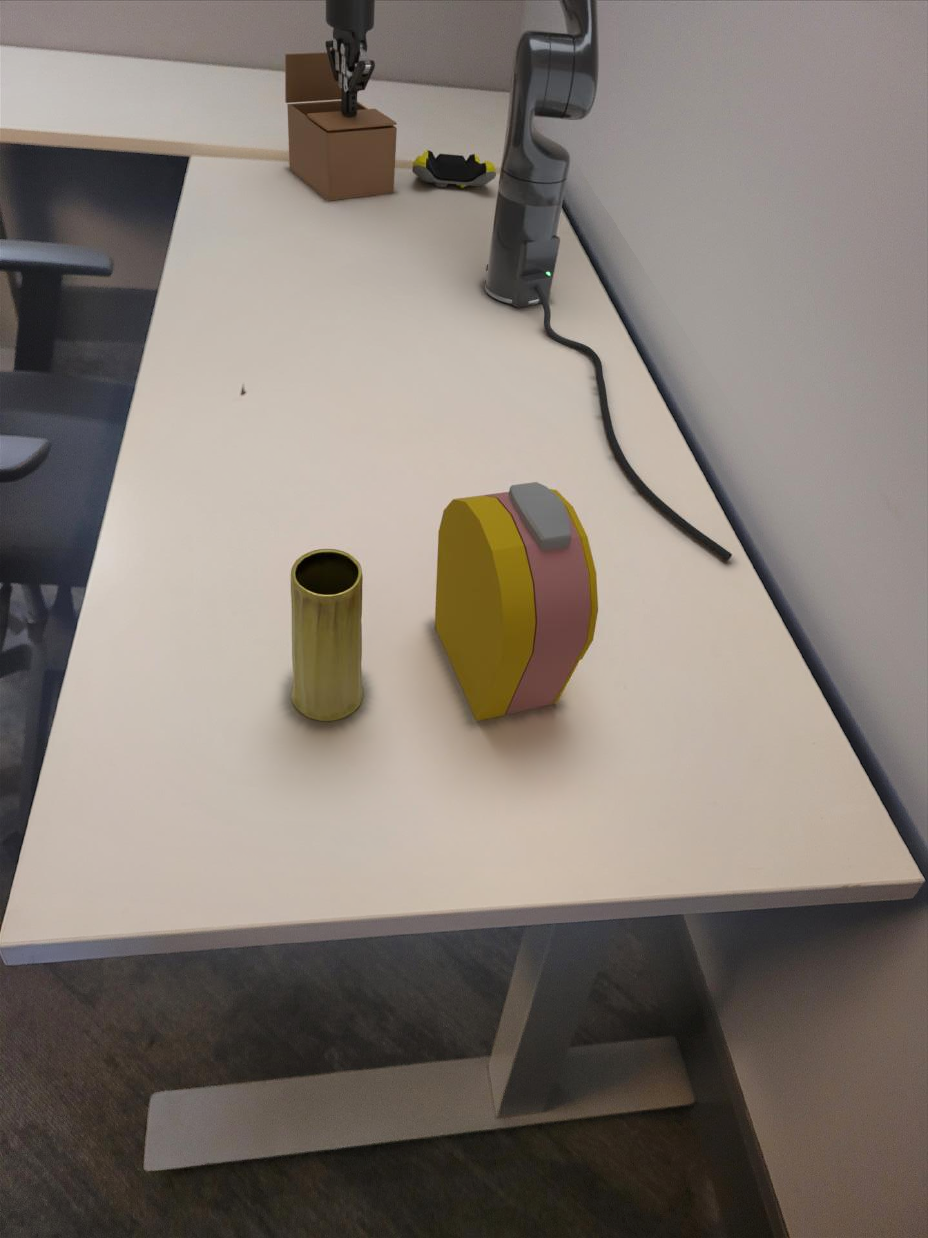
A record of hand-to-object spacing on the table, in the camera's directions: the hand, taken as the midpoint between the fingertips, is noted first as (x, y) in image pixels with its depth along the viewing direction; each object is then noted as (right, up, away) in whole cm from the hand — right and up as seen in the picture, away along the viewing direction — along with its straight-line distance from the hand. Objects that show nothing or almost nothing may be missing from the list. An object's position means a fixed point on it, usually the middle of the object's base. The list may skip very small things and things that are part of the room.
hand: (348, 115), depth 143 cm
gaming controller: (+17, -5, +14) cm, 23 cm away
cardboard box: (-3, -6, +9) cm, 12 cm away
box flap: (+1, -1, 0) cm, 1 cm away
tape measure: (+22, -89, -66) cm, 113 cm away
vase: (+8, -91, -70) cm, 115 cm away
